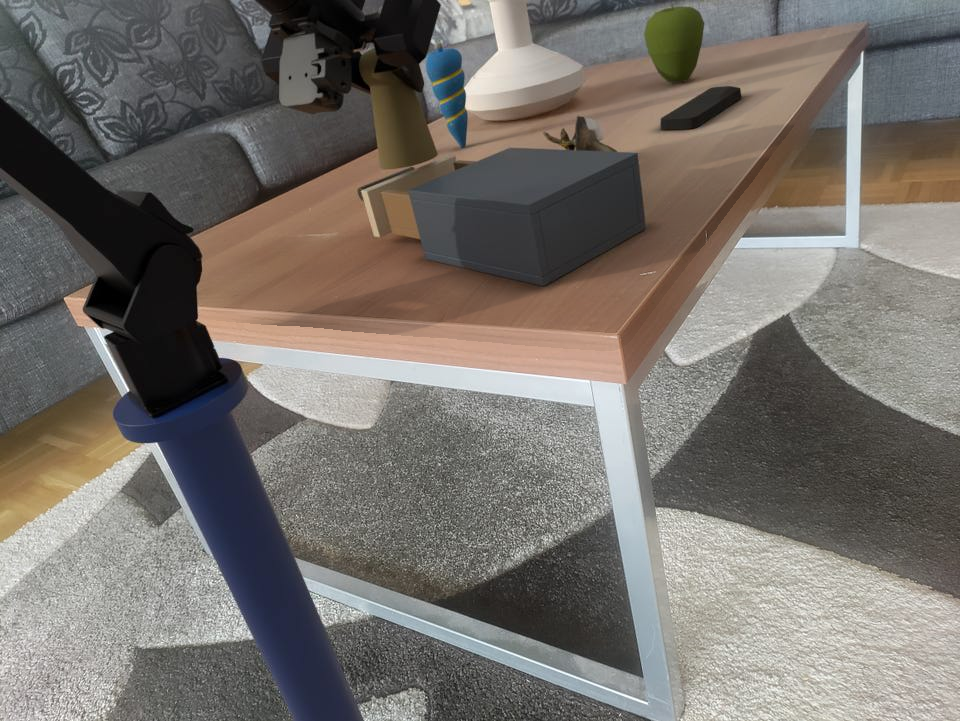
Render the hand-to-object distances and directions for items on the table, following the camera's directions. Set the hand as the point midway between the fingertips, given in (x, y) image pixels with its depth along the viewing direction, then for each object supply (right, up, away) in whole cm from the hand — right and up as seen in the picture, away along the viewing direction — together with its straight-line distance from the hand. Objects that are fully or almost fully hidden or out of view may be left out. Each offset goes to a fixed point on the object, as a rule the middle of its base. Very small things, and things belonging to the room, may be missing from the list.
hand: (401, 91), depth 75 cm
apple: (+39, +16, +43) cm, 60 cm away
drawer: (+4, -13, +1) cm, 14 cm away
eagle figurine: (+20, -6, +9) cm, 23 cm away
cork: (+1, -7, +2) cm, 7 cm away
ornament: (+5, +4, +34) cm, 35 cm away
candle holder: (+16, +14, +48) cm, 52 cm away
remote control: (+36, +5, +22) cm, 43 cm away
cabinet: (+12, -17, -8) cm, 22 cm away
